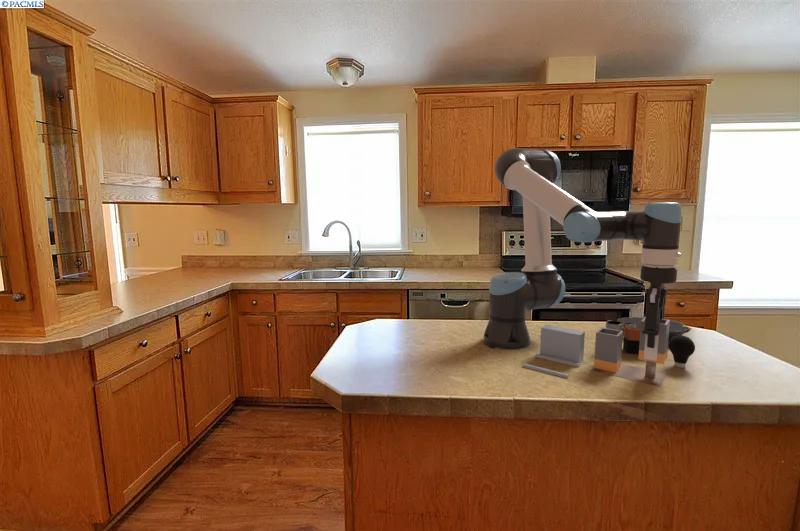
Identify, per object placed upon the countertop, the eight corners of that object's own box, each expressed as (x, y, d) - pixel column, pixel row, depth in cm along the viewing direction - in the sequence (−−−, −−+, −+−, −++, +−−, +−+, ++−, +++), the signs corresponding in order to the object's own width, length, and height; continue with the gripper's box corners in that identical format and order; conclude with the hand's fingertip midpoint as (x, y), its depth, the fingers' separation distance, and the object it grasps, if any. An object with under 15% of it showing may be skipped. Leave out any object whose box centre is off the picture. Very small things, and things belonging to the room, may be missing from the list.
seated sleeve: (594, 367, 107) (596, 332, 105) (599, 361, 111) (601, 327, 109) (616, 372, 103) (618, 336, 102) (620, 366, 107) (623, 331, 106)
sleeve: (663, 364, 96) (666, 324, 95) (638, 359, 99) (641, 321, 98) (666, 357, 100) (669, 319, 99) (642, 353, 103) (645, 316, 102)
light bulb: (661, 367, 110) (664, 333, 109) (680, 366, 110) (683, 332, 109) (677, 376, 104) (680, 339, 103) (698, 375, 105) (701, 339, 103)
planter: (619, 353, 121) (621, 320, 120) (622, 358, 117) (624, 325, 116) (603, 351, 123) (604, 319, 121) (605, 356, 118) (607, 323, 117)
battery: (652, 360, 115) (655, 327, 114) (627, 358, 117) (629, 326, 115) (646, 354, 120) (648, 323, 118) (622, 353, 121) (624, 322, 120)
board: (612, 338, 135) (613, 323, 134) (619, 325, 153) (620, 312, 152) (691, 350, 122) (692, 334, 122) (689, 335, 140) (690, 321, 140)
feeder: (522, 371, 109) (523, 336, 107) (543, 356, 120) (544, 324, 118) (567, 383, 101) (569, 346, 99) (584, 365, 112) (586, 331, 111)
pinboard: (590, 375, 106) (591, 348, 104) (600, 363, 113) (601, 338, 112) (660, 392, 95) (663, 363, 94) (666, 378, 103) (668, 351, 102)
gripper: (672, 271, 87) (664, 370, 90) (681, 262, 101) (674, 349, 104) (633, 268, 92) (627, 363, 95) (647, 260, 106) (642, 343, 109)
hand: (652, 355), depth 100 cm, fingers closed on sleeve, 5 cm apart
